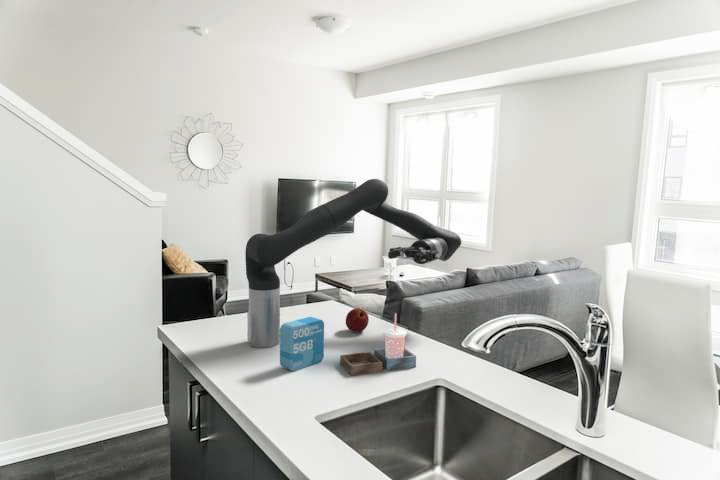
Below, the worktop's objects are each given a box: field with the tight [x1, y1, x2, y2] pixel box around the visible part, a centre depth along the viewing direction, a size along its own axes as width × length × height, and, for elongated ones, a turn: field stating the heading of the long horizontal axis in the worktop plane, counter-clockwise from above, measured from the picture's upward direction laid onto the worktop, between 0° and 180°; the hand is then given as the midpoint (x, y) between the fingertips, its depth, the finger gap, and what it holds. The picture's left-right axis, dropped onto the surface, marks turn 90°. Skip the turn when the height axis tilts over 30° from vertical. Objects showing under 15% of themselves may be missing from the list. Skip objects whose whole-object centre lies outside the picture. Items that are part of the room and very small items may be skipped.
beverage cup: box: [383, 312, 407, 359], centre depth 134 cm, size 6×6×14 cm
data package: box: [279, 316, 325, 372], centre depth 131 cm, size 12×4×12 cm, turn 138°
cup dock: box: [339, 347, 417, 377], centre depth 132 cm, size 19×9×3 cm, turn 112°
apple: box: [345, 307, 369, 333], centre depth 162 cm, size 7×8×8 cm
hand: (402, 256), depth 142 cm, fingers open, 8 cm apart
